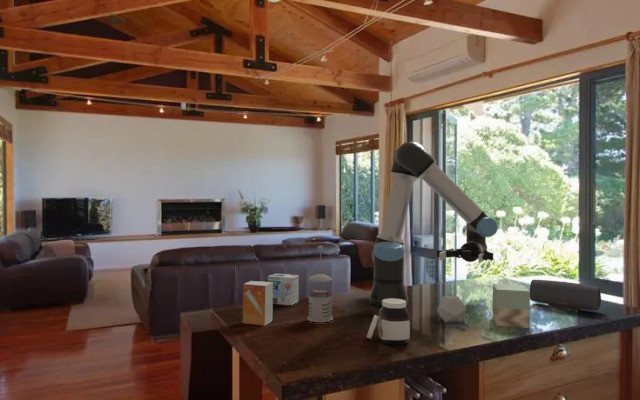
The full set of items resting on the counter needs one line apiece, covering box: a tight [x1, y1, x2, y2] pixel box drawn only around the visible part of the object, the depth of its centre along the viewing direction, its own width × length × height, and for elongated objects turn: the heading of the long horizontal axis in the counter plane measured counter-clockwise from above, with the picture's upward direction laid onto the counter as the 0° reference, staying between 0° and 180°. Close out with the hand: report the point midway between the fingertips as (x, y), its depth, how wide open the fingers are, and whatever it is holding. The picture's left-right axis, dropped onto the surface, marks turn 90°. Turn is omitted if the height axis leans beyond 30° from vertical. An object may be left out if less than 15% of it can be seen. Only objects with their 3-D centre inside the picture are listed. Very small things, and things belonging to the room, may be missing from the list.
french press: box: [306, 245, 334, 322], centre depth 156 cm, size 10×12×25 cm
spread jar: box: [366, 298, 411, 346], centre depth 133 cm, size 12×11×12 cm
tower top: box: [492, 283, 531, 311], centre depth 152 cm, size 10×10×6 cm
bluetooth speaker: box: [528, 279, 602, 311], centre depth 173 cm, size 23×9×10 cm, turn 49°
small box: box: [242, 280, 274, 327], centre depth 151 cm, size 8×6×13 cm
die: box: [436, 295, 467, 323], centre depth 154 cm, size 8×9×10 cm
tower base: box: [492, 302, 531, 329], centre depth 153 cm, size 10×10×6 cm
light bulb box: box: [267, 273, 300, 306], centre depth 179 cm, size 11×7×11 cm, turn 68°
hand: (459, 257), depth 163 cm, fingers open, 13 cm apart
